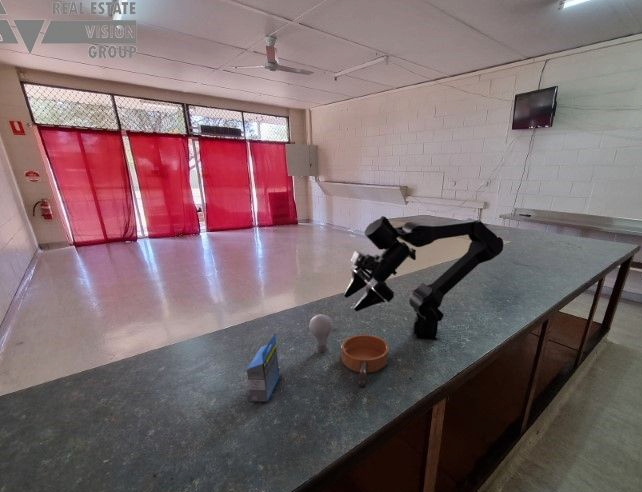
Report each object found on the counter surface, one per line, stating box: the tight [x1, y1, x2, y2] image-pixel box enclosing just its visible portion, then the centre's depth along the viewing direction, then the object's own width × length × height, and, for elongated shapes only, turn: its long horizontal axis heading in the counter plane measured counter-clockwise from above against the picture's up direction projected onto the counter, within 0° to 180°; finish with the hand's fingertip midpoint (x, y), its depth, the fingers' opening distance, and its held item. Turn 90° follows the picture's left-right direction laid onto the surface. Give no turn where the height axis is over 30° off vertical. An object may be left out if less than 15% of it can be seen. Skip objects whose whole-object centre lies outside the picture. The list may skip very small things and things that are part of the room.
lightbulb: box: [308, 313, 334, 353], centre depth 85 cm, size 6×6×11 cm
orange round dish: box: [341, 334, 390, 374], centre depth 83 cm, size 12×12×4 cm
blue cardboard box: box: [246, 332, 280, 403], centre depth 70 cm, size 9×4×12 cm, turn 178°
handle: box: [357, 361, 368, 389], centre depth 73 cm, size 2×9×2 cm, turn 178°
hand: (349, 303), depth 84 cm, fingers open, 9 cm apart
